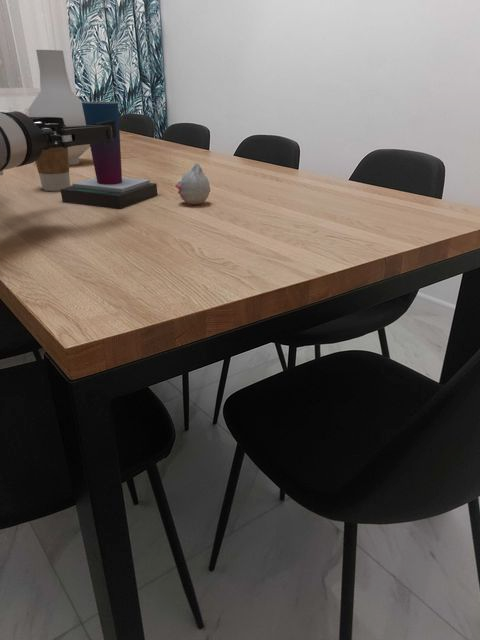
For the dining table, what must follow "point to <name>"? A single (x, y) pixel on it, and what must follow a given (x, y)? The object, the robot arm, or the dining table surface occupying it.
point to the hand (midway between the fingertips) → (78, 127)
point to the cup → (110, 154)
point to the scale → (109, 192)
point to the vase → (58, 97)
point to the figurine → (194, 186)
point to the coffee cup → (54, 163)
